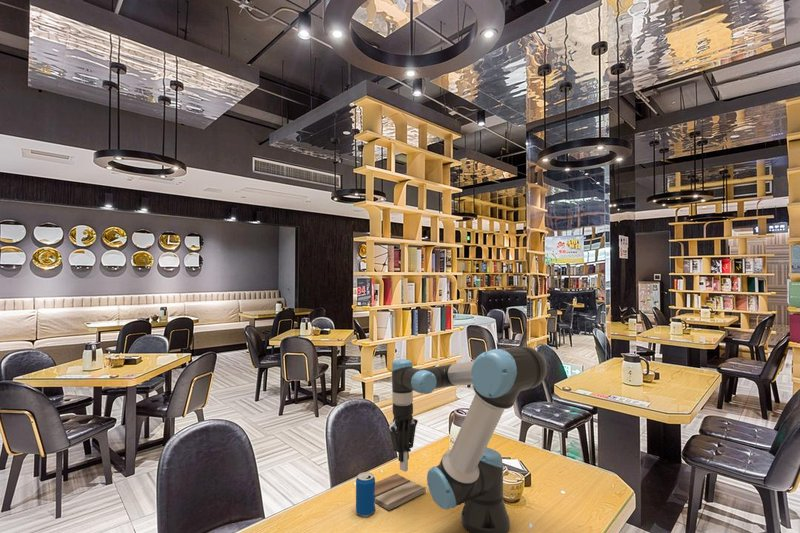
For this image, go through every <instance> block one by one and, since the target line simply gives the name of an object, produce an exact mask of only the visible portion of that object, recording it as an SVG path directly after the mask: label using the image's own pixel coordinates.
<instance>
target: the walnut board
mask: <svg viewBox="0 0 800 533" xmlns="http://www.w3.org/2000/svg"><path fill="white" fill-rule="evenodd" d="M410 481H411V479H408V478H406V477H404V476H403V475H401V474H399V473H395V474H391V475H390V476H387V477H386V478H385V477H384V478H383V479H380V480H379V481H375V497H377V496H379V495H381V494H384V493H386V492H388V491H390V490H393V489H395V488H397V487H399V486H401V485H404V484H406V483H408V482H410Z"/></svg>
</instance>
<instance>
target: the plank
mask: <svg viewBox="0 0 800 533" xmlns="http://www.w3.org/2000/svg"><path fill="white" fill-rule="evenodd" d="M425 493H427V487H425V486H423V485H421V484H418V483H416V482H414V481H411V480H410V482H408V483H406V484H404V485H401V486H399V487H397V488H395V489H393V490H390V491H388V492H386V493H384V494H381V495H379V496H377V497H375V504H377V505H378V506H380V507H382V508H384V509H386V510H387V511H390V510H393V509H395V508H397V507H399V506H401V505H403V504H405V503H407V502H409V501H411V500H413V499H415V498H417V497H419V496H421V495H423V494H425Z"/></svg>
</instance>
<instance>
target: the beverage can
mask: <svg viewBox="0 0 800 533" xmlns="http://www.w3.org/2000/svg"><path fill="white" fill-rule="evenodd" d="M374 475H375V474H373V472H369V471H368V472H367V471H366V472H365V471H364V472H360V473H359V474H357V477H356V479H355V512H356V514H358V515H359V516H360V517H363V518H364V517H370V516H372V515H373V513H375V511H376V503H375V483H376V479H375V476H374Z"/></svg>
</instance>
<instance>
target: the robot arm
mask: <svg viewBox="0 0 800 533" xmlns="http://www.w3.org/2000/svg"><path fill="white" fill-rule="evenodd" d="M546 375H547V363H546V360H545V358H544V357H543V355H542V354H541V353H540V352H539V351H538V350H536V349H535V348H533V347H529V346H524V345H523V346H522V345H521V346H516V347H514V346H513V347H508V348H502V349H501V348H493V349H490V350H488V351H483V352H482V353H480V354H479V355H478V356H477V357H476V358H474V360H470V361H466V362H465V361H464V362H459V363H458V362H456V363H449V364H446V365H445V364H444V365H439V366H433V367H425V368H417V367H416V368H415V367H413V362H412V361H411V359H396V360H393V361H392V362H391V388H392V389H391V390H392V392H391V394H392V397H391V398H392V400H391V401H392V406H391V407H392V414H393V419H392V423H391V425H387V430H388V432H389V433H390V439H391V442H392V447H393V451H395V452H397V453H398V462H399V470H400V471H402V472H405V473H406V472H408V471H409V466H408V464H409V462H408V461H409V459H410V457H409V456H410V453H411V451H412V448H413V447H414V442H415V437H416V436H415V435H416V428H417V424H418V422H419V420H418V419H415V418H413V414H414V404H413V402H414V395H413V394H414V392H416V393H419V394H422V395H423V394H425V395H429V394H431V393H432V392H433V391H434V390H437V389H442V388H448V387H457V386H469V385H472V389H473V391H474V397H472V398H473V399H472V401H471V403H470V406H469V409H468V411H467V413H466V415H465V417H464V419H463V422H462V425H461V426H460V429H459V431H458V434H457V436H456V438H455V441H454V442H453V445H452V446H451V447H452V448H451V449H448V450H446V451H445V452H444V453H443V455H442V458H441V460H440V462H439V464H438V465H436V466H432V467H431V468H429V469H428V471H427V474H426V482H427V487H428V490H429V493H430V496H431V498H432V500H433V501H434V503H435V504H436V505H437V506H438V507H439V508H441V509H444V510H450V509H453V508H456V507H458V506H460V505H462V504H463V508H462V511H461V524H462V527H463V528H464V529H465V530H466V531H467V532H469V533H508V532H509V530H510V517H509V514H508V513H507V512H508V511H507V508H506V505H505V502H504V501H505V500H504V465H503V458H502V454H501V453H500V452H499V451H497V450H496V449H493V448H490V447H488V444H489V442H490V441H491V439H492V437H493V434H494V432H495V431H496V428H497V426H498V424H499V422H500V419H501V418H502V415H503V413H504V411H505V410H508V409H510V408H512V407H513V406H514V405H515V403H516V400H517V398H518V396H519V394H520V393H521V392H523V391H527V390H531V389H534V388H536V387H538V386H539V385H541V384H542V383H543V381H544V380H545V378H546Z"/></svg>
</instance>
